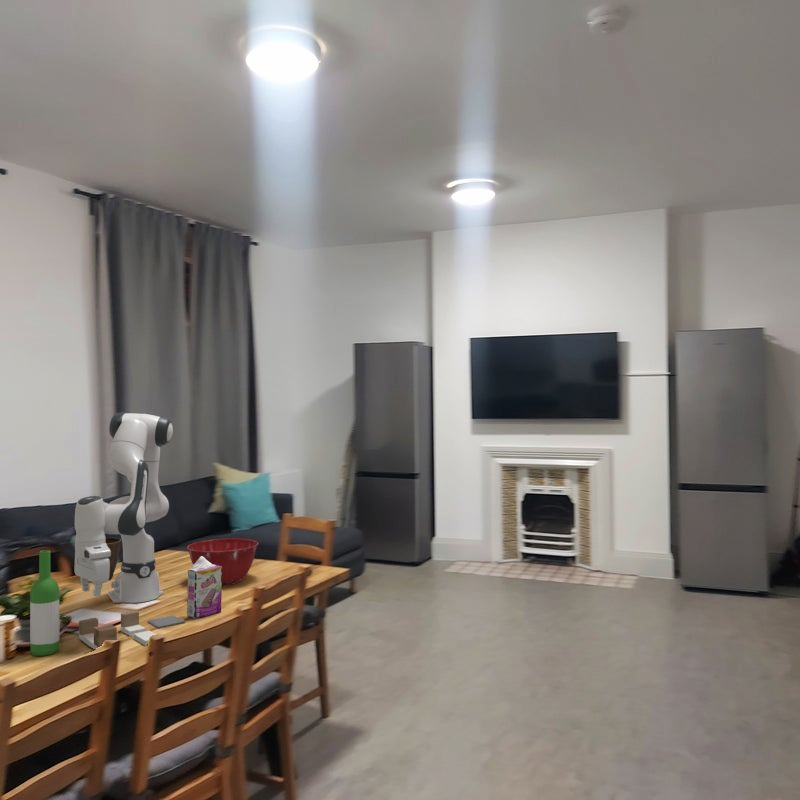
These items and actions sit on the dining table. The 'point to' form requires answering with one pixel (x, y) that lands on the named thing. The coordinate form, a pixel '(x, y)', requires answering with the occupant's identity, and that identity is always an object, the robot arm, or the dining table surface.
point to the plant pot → (113, 553)
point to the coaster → (166, 621)
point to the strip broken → (134, 627)
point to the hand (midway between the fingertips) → (91, 593)
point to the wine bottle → (44, 610)
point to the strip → (88, 631)
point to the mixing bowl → (226, 556)
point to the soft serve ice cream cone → (201, 563)
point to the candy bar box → (204, 591)
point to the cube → (104, 634)
